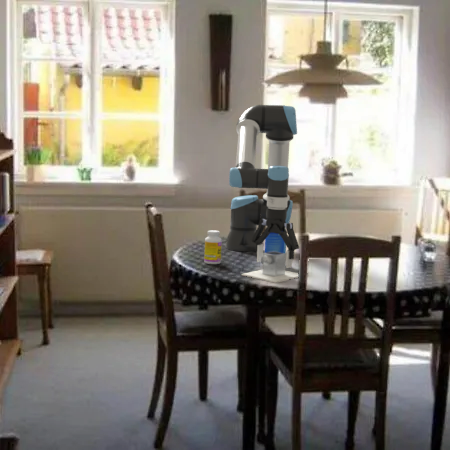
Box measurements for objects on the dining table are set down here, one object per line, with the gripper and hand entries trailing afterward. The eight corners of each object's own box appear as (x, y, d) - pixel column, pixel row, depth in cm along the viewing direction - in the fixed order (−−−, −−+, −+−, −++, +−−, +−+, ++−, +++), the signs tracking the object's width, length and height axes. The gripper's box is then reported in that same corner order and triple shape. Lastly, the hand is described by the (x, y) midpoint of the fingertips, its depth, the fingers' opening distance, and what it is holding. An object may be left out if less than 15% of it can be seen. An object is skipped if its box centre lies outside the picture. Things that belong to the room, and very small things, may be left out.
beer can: (261, 266, 313) (263, 225, 310) (267, 262, 321) (269, 223, 318) (281, 268, 310) (283, 227, 308) (287, 264, 318) (289, 225, 315)
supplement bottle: (218, 265, 311) (220, 232, 309) (202, 263, 312) (203, 231, 311) (222, 262, 318) (223, 230, 316) (206, 260, 319) (207, 229, 317)
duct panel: (271, 269, 307) (271, 255, 306) (305, 276, 297) (305, 261, 296) (241, 275, 294) (242, 260, 293) (275, 282, 283) (276, 267, 283)
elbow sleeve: (272, 271, 300) (273, 251, 298) (284, 274, 296) (286, 253, 294) (257, 274, 293) (258, 253, 292) (270, 277, 289) (271, 256, 288)
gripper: (244, 205, 297) (241, 260, 300) (298, 212, 281) (295, 271, 284) (256, 203, 302) (254, 258, 306) (310, 211, 286) (307, 268, 290)
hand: (274, 264), depth 295 cm, fingers open, 13 cm apart
